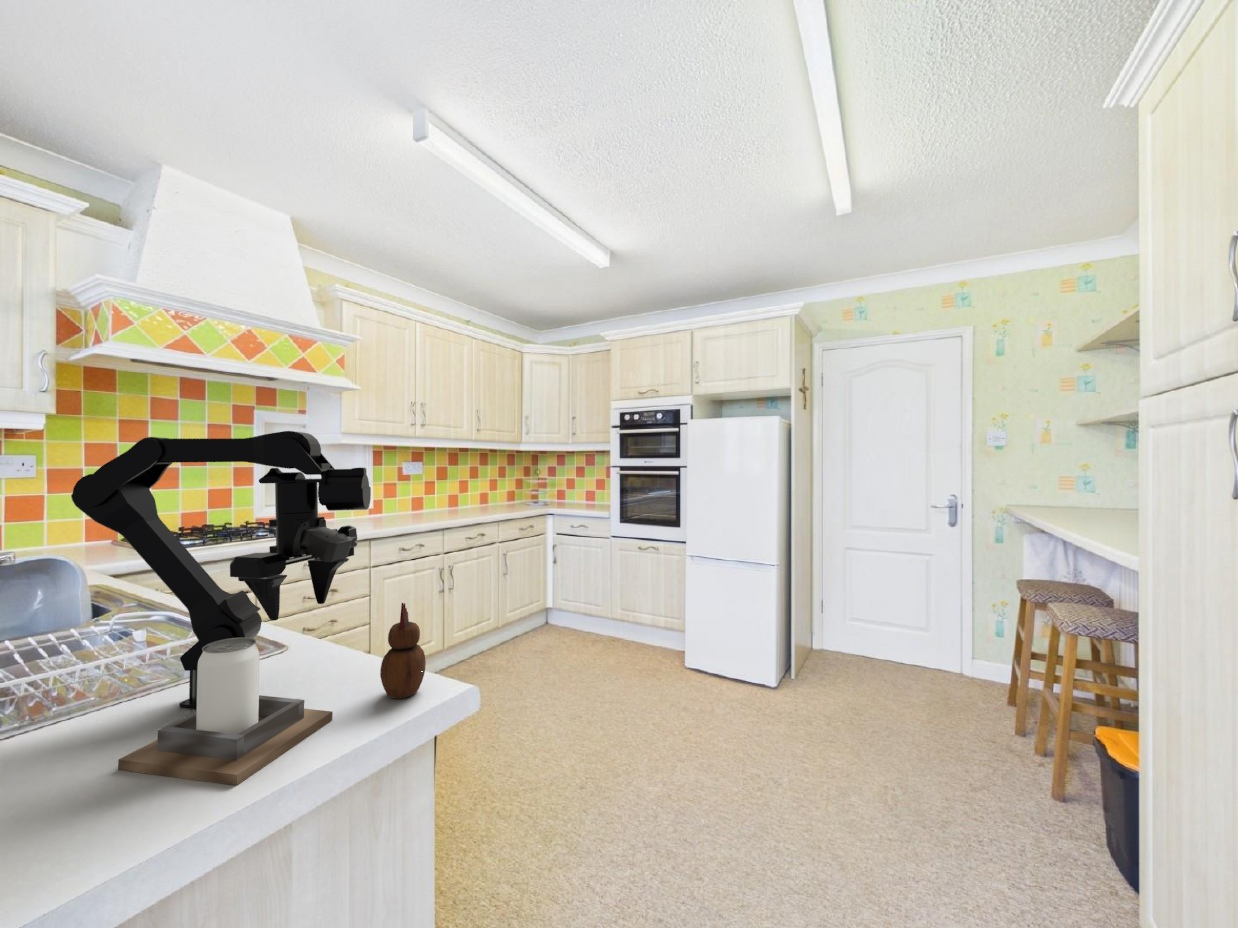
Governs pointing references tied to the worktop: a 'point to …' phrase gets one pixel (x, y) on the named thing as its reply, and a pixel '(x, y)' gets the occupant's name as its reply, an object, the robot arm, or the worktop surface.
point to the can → (228, 686)
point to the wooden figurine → (403, 659)
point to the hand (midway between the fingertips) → (298, 611)
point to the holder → (227, 744)
